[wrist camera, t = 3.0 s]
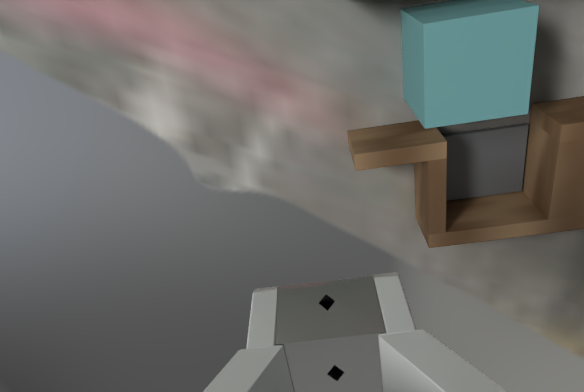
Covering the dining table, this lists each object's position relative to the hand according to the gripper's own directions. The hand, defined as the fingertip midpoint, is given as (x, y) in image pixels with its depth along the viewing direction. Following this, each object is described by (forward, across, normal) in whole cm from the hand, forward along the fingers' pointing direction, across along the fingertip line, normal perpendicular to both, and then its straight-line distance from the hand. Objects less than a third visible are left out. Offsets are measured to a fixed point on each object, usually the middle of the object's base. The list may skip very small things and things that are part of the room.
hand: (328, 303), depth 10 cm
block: (+19, -8, 0) cm, 21 cm away
